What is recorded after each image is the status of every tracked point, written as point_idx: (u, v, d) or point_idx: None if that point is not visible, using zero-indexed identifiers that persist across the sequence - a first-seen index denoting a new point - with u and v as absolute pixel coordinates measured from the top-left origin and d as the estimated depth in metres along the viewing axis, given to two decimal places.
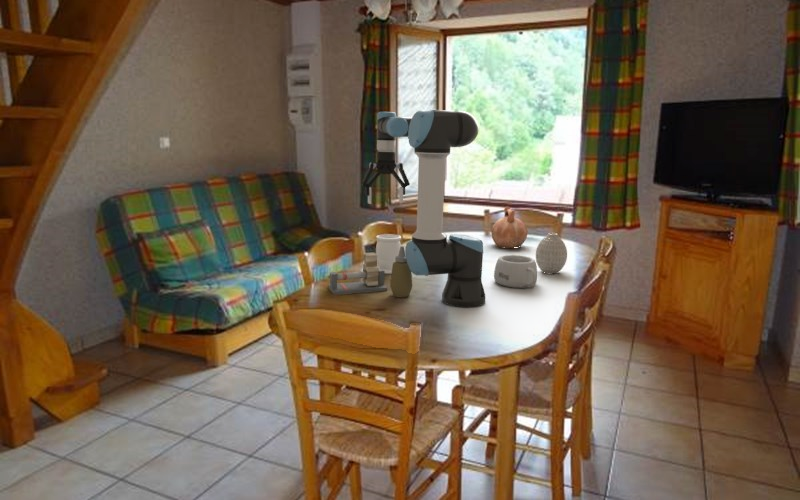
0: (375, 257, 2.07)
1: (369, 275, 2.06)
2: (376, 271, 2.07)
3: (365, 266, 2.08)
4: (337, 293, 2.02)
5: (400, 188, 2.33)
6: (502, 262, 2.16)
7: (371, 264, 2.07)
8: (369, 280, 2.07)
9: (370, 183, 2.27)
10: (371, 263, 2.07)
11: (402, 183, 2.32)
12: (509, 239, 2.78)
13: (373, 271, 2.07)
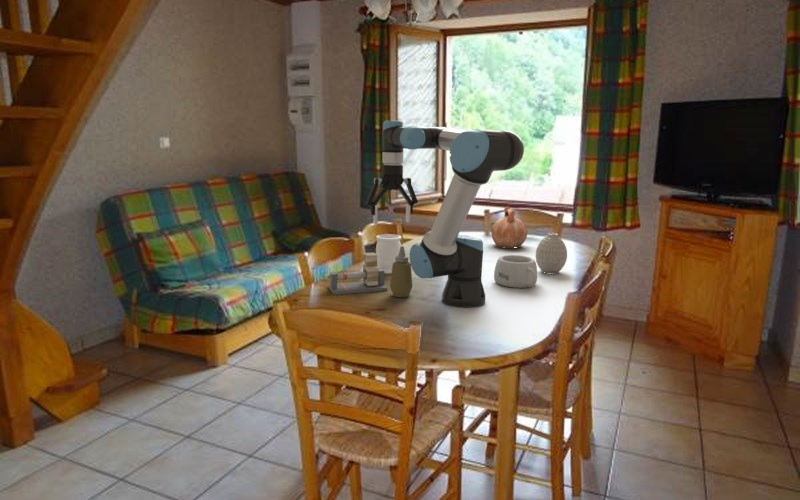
0: (375, 257, 2.07)
1: (369, 275, 2.06)
2: (376, 271, 2.07)
3: (365, 266, 2.08)
4: (337, 293, 2.02)
5: (407, 206, 2.09)
6: (502, 262, 2.16)
7: (371, 264, 2.07)
8: (369, 280, 2.07)
9: (375, 201, 2.04)
10: (371, 263, 2.07)
11: (409, 201, 2.08)
12: (509, 239, 2.78)
13: (373, 271, 2.07)
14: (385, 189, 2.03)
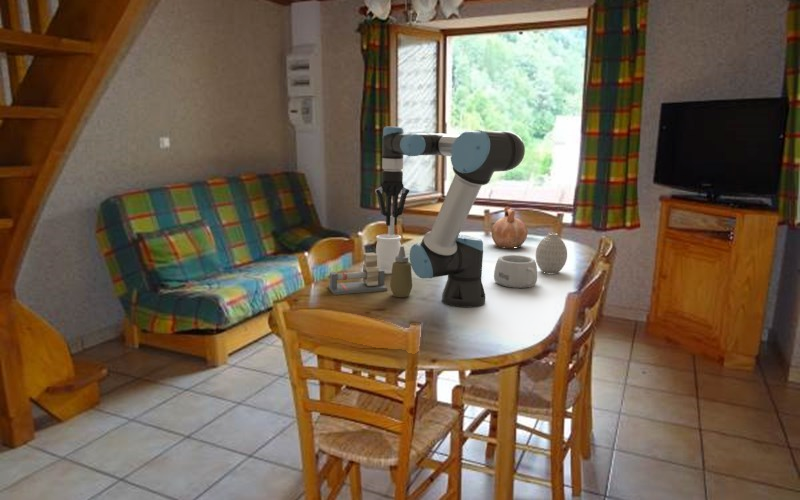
0: (375, 257, 2.07)
1: (369, 275, 2.06)
2: (376, 271, 2.07)
3: (365, 266, 2.08)
4: (337, 293, 2.02)
5: None
6: (502, 262, 2.16)
7: (371, 264, 2.07)
8: (369, 280, 2.07)
9: (388, 211, 2.06)
10: (371, 263, 2.07)
11: (395, 211, 2.07)
12: (509, 239, 2.78)
13: (373, 271, 2.07)
14: (390, 197, 2.05)
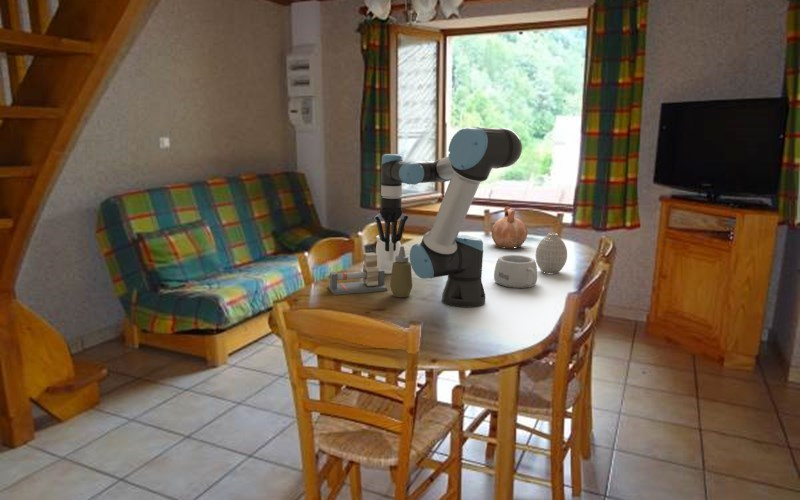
0: (375, 257, 2.07)
1: (369, 275, 2.06)
2: (376, 271, 2.07)
3: (365, 266, 2.08)
4: (337, 293, 2.02)
5: None
6: (502, 262, 2.16)
7: (371, 264, 2.07)
8: (369, 280, 2.07)
9: (387, 238, 2.08)
10: (371, 263, 2.07)
11: (394, 237, 2.09)
12: (509, 239, 2.78)
13: (373, 271, 2.07)
14: (388, 223, 2.06)
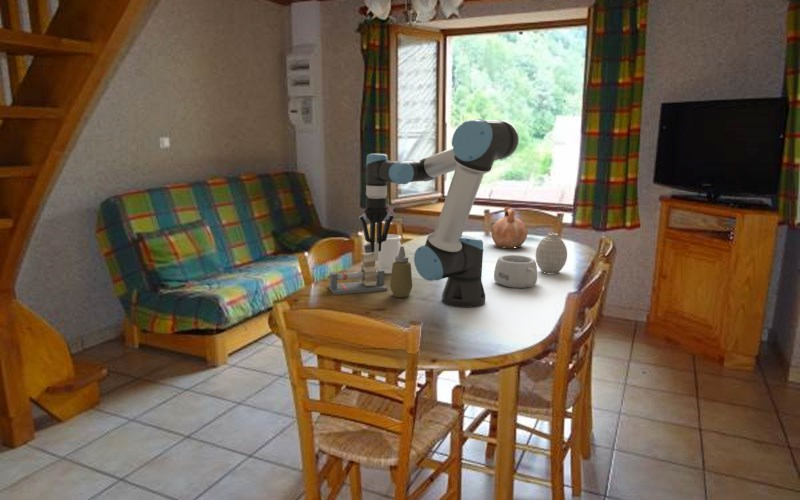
0: (373, 257, 2.07)
1: (367, 275, 2.06)
2: (374, 271, 2.07)
3: (363, 266, 2.08)
4: (337, 293, 2.02)
5: None
6: (502, 262, 2.16)
7: (369, 264, 2.07)
8: (367, 280, 2.07)
9: (372, 238, 2.06)
10: (369, 263, 2.07)
11: (380, 238, 2.07)
12: (509, 239, 2.78)
13: (371, 272, 2.07)
14: (373, 223, 2.05)
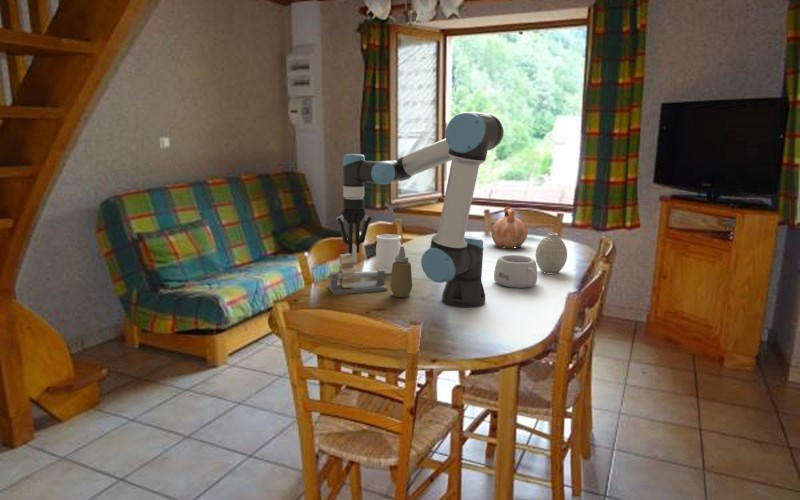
0: (351, 258, 2.04)
1: (345, 277, 2.03)
2: (352, 273, 2.04)
3: (341, 268, 2.05)
4: (337, 293, 2.02)
5: None
6: (502, 262, 2.16)
7: (346, 266, 2.04)
8: (345, 282, 2.04)
9: (350, 239, 2.03)
10: (347, 264, 2.04)
11: (357, 239, 2.04)
12: (509, 239, 2.78)
13: (348, 273, 2.04)
14: (351, 225, 2.02)
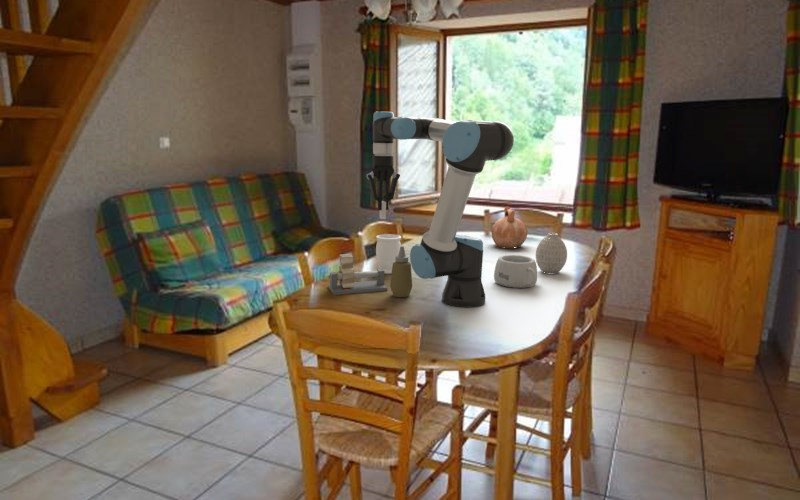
0: (351, 258, 2.04)
1: (345, 277, 2.03)
2: (352, 273, 2.04)
3: (341, 268, 2.05)
4: (337, 293, 2.02)
5: None
6: (502, 262, 2.16)
7: (346, 266, 2.04)
8: (345, 282, 2.04)
9: (380, 196, 2.08)
10: (347, 264, 2.04)
11: (387, 196, 2.09)
12: (509, 239, 2.78)
13: (348, 273, 2.04)
14: (381, 181, 2.07)
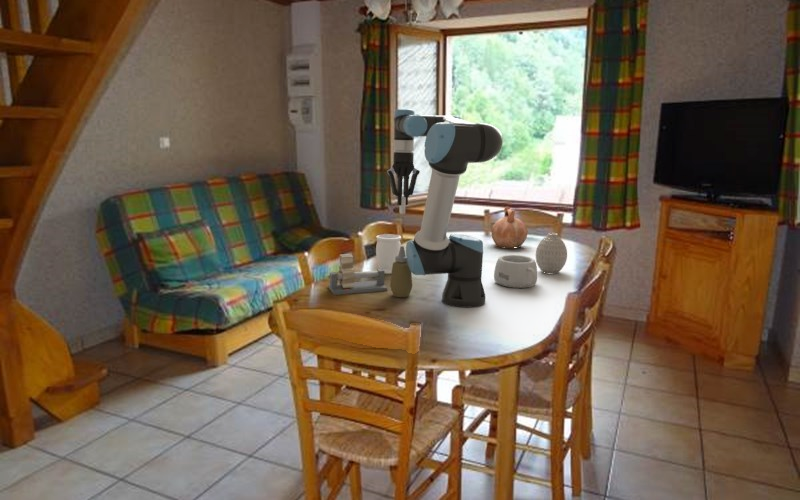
0: (351, 258, 2.04)
1: (345, 277, 2.03)
2: (352, 273, 2.04)
3: (341, 268, 2.05)
4: (337, 293, 2.02)
5: None
6: (502, 262, 2.16)
7: (346, 266, 2.04)
8: (345, 282, 2.04)
9: (400, 191, 2.14)
10: (347, 264, 2.04)
11: (407, 191, 2.15)
12: (509, 239, 2.78)
13: (348, 273, 2.04)
14: (401, 177, 2.13)
